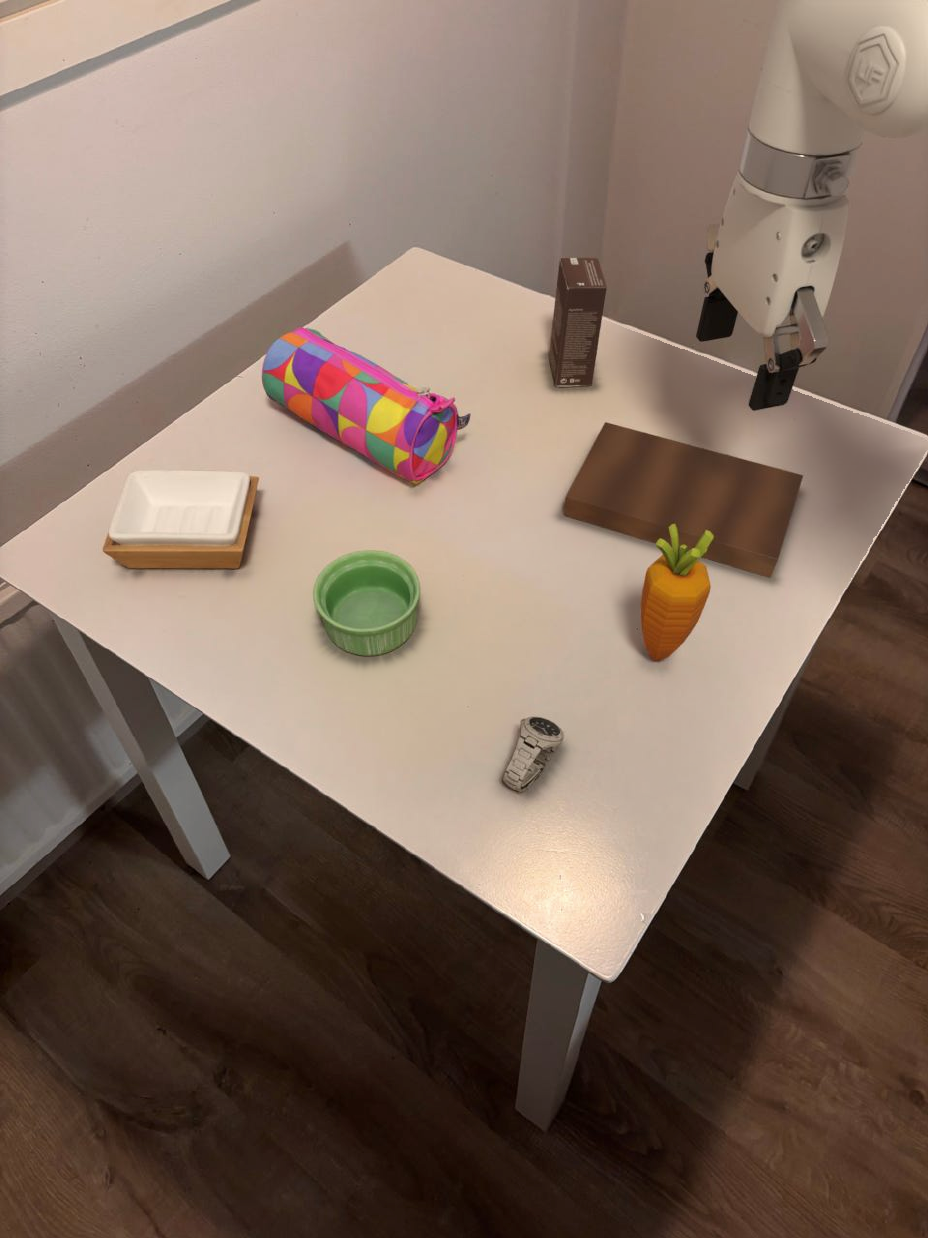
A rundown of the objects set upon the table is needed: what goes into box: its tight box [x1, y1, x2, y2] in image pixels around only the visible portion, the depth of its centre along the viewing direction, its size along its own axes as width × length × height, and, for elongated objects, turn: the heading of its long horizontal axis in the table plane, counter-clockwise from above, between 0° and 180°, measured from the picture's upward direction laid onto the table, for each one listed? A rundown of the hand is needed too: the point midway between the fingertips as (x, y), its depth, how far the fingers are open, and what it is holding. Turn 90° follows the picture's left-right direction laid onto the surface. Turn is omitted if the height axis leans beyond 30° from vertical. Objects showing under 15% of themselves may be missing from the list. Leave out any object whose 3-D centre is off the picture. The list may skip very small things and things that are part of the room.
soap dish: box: [102, 469, 260, 570], centre depth 83 cm, size 12×10×5 cm
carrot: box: [640, 524, 714, 661], centre depth 70 cm, size 5×5×15 cm
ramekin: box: [312, 549, 421, 657], centre depth 77 cm, size 9×9×4 cm
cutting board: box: [563, 421, 804, 579], centre depth 86 cm, size 20×12×2 cm, turn 66°
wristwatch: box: [502, 716, 565, 793], centre depth 67 cm, size 4×6×5 cm, turn 145°
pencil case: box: [261, 326, 471, 484], centre depth 91 cm, size 22×9×9 cm, turn 53°
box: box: [548, 257, 608, 388], centre depth 96 cm, size 6×4×12 cm
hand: (739, 370), depth 75 cm, fingers open, 9 cm apart
